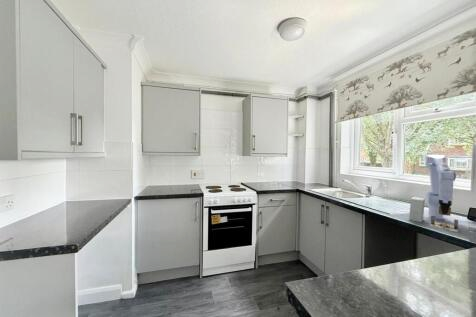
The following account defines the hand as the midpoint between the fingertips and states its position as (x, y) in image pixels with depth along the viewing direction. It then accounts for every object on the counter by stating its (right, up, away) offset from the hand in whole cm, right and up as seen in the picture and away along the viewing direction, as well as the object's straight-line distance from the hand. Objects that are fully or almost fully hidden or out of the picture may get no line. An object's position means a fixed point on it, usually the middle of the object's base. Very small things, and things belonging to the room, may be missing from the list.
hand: (444, 212), depth 123 cm
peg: (-7, -7, -7) cm, 12 cm away
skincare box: (-10, -8, +8) cm, 15 cm away
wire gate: (-4, -7, -3) cm, 9 cm away
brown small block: (0, -1, 0) cm, 1 cm away
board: (-3, -8, -3) cm, 9 cm away
